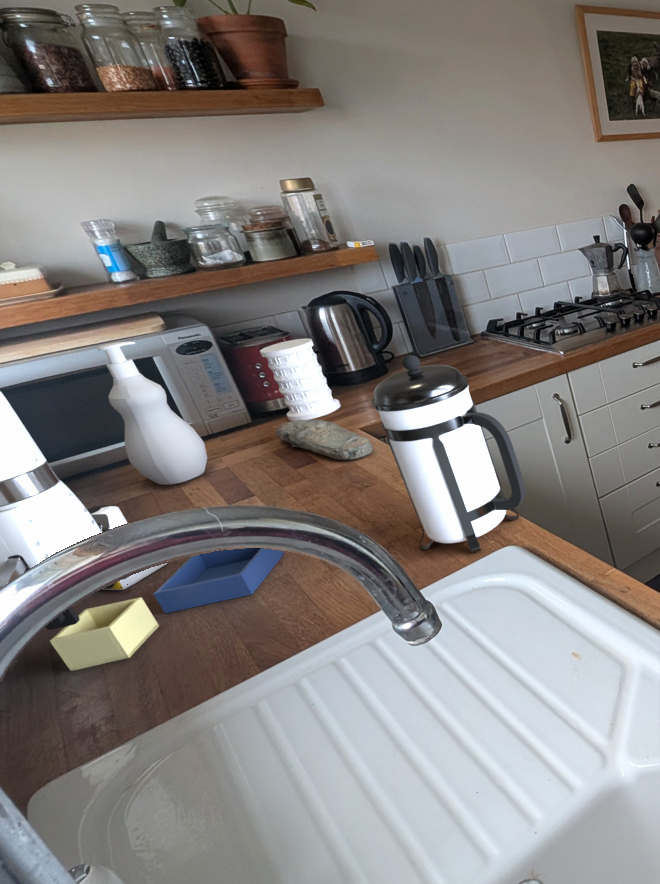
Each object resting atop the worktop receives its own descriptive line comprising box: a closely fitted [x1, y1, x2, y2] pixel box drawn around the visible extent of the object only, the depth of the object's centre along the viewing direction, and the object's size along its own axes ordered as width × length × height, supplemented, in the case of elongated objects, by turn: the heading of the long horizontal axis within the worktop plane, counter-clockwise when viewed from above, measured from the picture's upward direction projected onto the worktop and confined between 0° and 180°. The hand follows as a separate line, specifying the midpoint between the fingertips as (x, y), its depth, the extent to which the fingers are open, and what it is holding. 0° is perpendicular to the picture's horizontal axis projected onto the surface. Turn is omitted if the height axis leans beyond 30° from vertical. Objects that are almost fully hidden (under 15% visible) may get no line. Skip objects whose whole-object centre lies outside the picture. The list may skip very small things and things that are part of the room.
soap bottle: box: [97, 340, 208, 486], centre depth 137 cm, size 17×12×29 cm
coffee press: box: [370, 354, 526, 555], centre depth 102 cm, size 17×16×30 cm
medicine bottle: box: [86, 504, 168, 591], centre depth 105 cm, size 7×7×12 cm
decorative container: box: [259, 337, 342, 422], centre depth 170 cm, size 12×12×18 cm
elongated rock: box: [274, 419, 374, 461], centre depth 150 cm, size 35×5×10 cm
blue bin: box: [153, 548, 285, 614], centre depth 102 cm, size 11×11×4 cm
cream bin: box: [49, 597, 160, 672], centre depth 90 cm, size 7×7×5 cm
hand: (91, 601), depth 88 cm, fingers open, 9 cm apart
